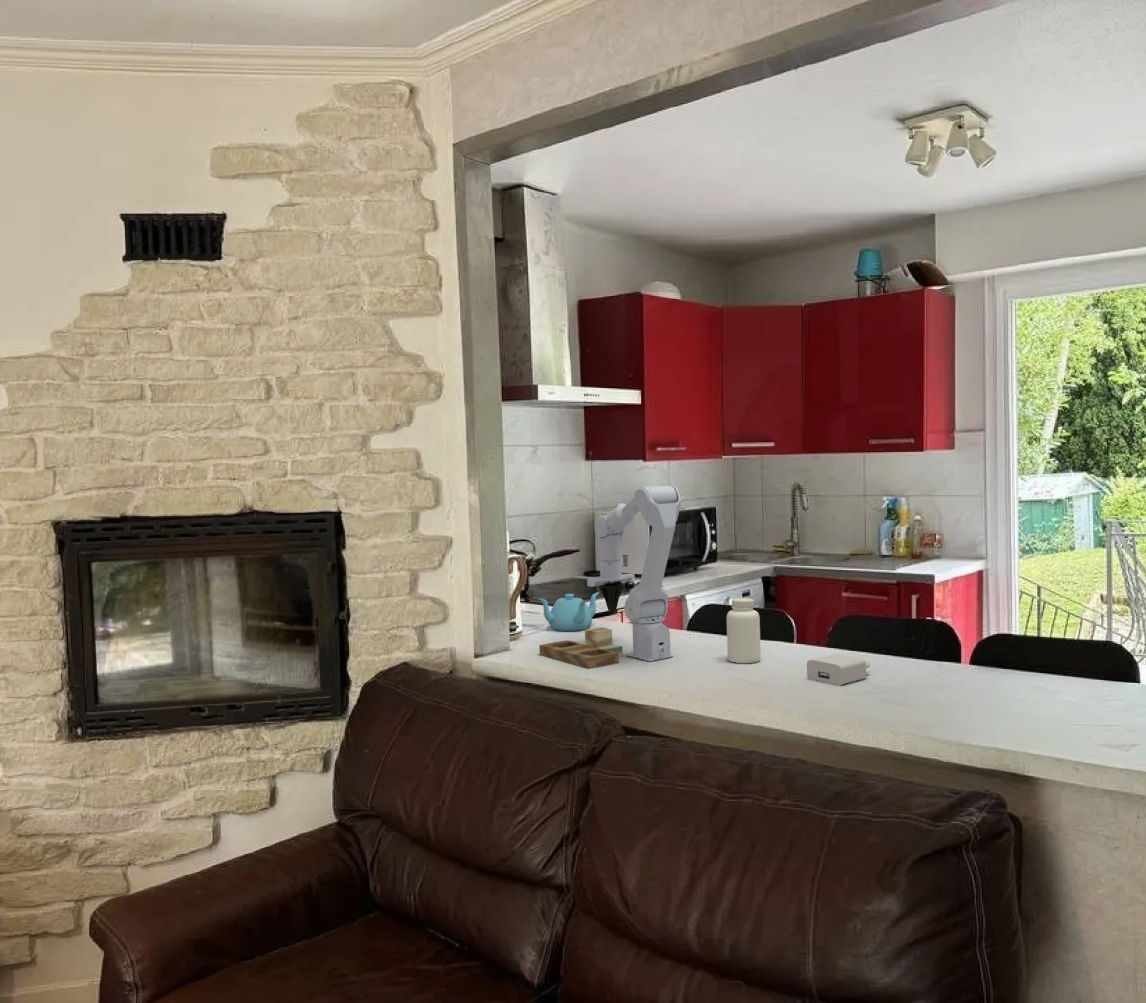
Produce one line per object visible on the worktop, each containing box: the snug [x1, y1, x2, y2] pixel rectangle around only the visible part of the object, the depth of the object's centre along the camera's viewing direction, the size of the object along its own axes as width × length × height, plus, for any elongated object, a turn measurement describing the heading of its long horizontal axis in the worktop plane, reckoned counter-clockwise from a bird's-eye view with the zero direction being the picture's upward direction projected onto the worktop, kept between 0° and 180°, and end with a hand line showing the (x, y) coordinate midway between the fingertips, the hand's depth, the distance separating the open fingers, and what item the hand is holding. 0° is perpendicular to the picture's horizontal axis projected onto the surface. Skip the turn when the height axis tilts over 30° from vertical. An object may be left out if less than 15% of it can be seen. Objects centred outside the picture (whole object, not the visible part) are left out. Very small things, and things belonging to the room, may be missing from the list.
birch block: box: [584, 626, 613, 648], centre depth 243 cm, size 5×5×4 cm
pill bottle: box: [726, 597, 762, 664], centre depth 231 cm, size 8×8×15 cm
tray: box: [539, 640, 623, 669], centre depth 241 cm, size 22×14×2 cm, turn 35°
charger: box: [806, 653, 871, 686], centre depth 212 cm, size 5×9×15 cm
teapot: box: [538, 591, 600, 632], centre depth 282 cm, size 15×15×10 cm
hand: (612, 610), depth 254 cm, fingers closed
